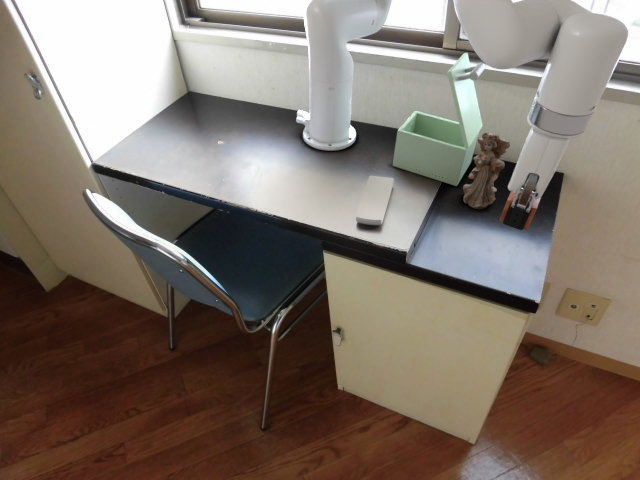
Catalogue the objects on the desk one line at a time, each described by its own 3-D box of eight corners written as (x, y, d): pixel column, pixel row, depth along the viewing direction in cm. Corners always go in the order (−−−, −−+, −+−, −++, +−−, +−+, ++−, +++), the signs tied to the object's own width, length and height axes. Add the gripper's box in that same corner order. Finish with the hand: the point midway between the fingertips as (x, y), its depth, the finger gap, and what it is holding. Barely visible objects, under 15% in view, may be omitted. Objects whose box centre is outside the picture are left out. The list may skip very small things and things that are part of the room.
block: (499, 220, 76) (507, 199, 73) (505, 205, 79) (514, 184, 75) (527, 230, 74) (536, 209, 71) (532, 214, 77) (542, 193, 74)
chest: (392, 165, 104) (397, 130, 98) (409, 144, 111) (415, 110, 105) (456, 186, 99) (466, 150, 93) (470, 163, 105) (480, 128, 99)
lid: (447, 72, 86) (471, 66, 83) (463, 53, 92) (486, 48, 89) (464, 148, 93) (487, 146, 90) (479, 126, 99) (500, 123, 97)
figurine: (451, 200, 96) (469, 134, 85) (464, 186, 99) (482, 121, 89) (486, 215, 92) (508, 148, 82) (498, 200, 96) (521, 134, 86)
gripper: (543, 83, 70) (506, 182, 83) (516, 135, 60) (478, 239, 72) (597, 96, 68) (550, 196, 80) (579, 153, 57) (528, 258, 70)
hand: (516, 216), depth 76 cm, fingers closed on block, 4 cm apart
